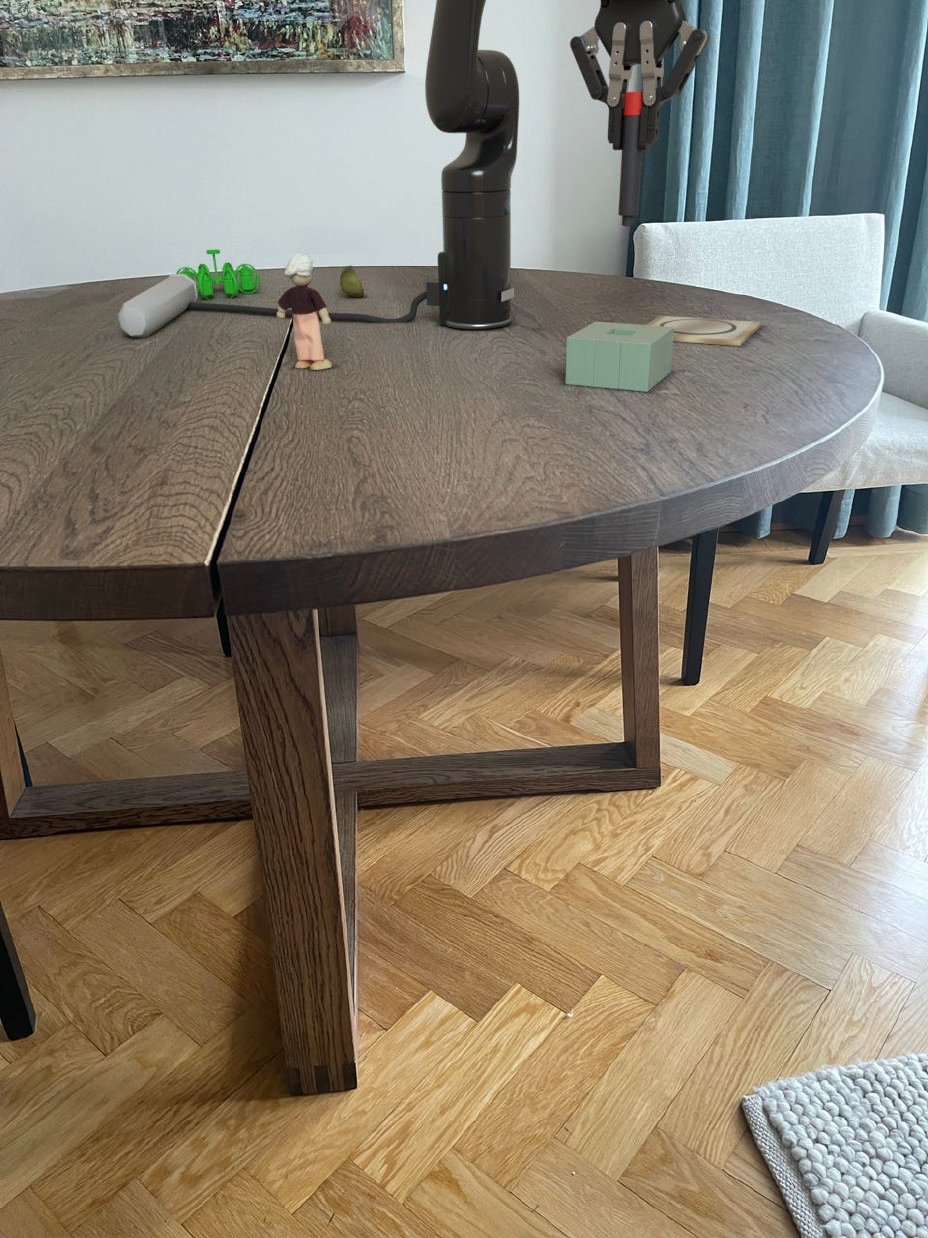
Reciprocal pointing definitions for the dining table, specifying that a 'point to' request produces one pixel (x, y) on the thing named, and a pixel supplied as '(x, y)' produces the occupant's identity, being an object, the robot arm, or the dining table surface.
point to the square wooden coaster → (708, 330)
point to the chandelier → (223, 277)
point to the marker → (630, 158)
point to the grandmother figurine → (305, 313)
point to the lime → (351, 283)
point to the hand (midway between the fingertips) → (631, 148)
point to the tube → (157, 306)
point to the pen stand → (619, 356)
